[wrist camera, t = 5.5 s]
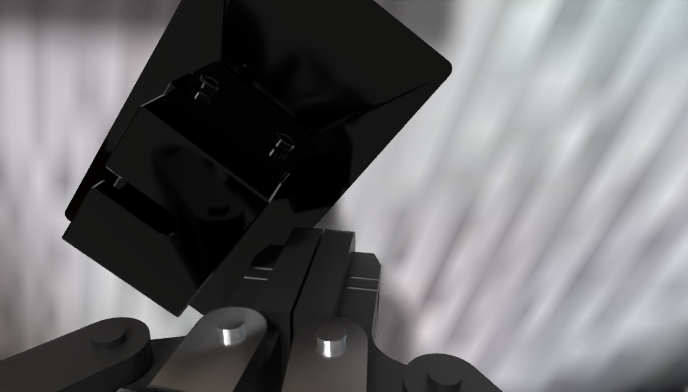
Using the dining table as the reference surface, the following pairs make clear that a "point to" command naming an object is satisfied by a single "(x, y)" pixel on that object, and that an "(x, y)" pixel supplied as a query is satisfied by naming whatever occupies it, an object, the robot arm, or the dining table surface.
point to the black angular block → (244, 138)
